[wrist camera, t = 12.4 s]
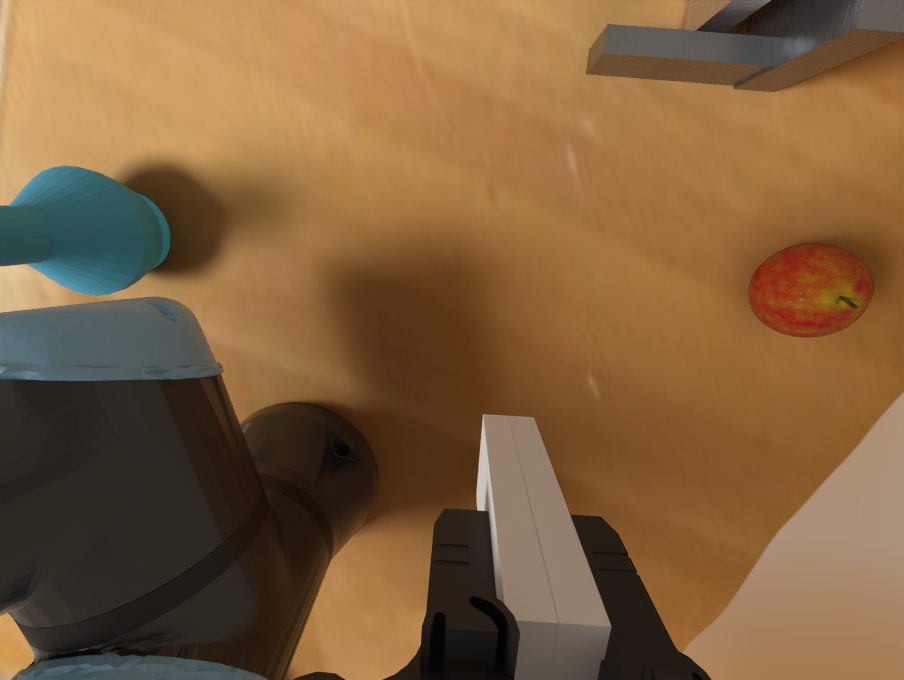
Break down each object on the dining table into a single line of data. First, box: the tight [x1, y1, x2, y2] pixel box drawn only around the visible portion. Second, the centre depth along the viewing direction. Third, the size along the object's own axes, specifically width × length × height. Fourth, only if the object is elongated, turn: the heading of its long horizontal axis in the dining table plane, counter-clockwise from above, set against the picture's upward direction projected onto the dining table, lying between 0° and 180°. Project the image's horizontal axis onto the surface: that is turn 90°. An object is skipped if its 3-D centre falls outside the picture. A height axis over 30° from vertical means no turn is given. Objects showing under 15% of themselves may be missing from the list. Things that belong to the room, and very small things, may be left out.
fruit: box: [749, 244, 874, 337], centre depth 31 cm, size 7×7×8 cm
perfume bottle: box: [0, 166, 171, 295], centre depth 28 cm, size 9×9×15 cm
